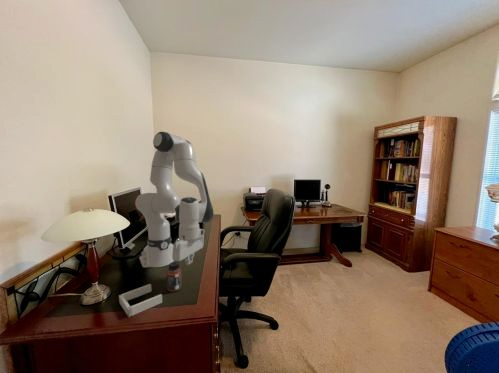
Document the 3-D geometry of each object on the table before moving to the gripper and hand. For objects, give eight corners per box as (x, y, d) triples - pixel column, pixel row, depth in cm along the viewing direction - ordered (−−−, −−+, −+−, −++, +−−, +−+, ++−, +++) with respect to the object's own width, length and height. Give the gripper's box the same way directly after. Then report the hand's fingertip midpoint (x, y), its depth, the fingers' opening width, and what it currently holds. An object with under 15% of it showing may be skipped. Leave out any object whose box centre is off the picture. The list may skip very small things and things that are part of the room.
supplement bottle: (181, 291, 94) (180, 265, 93) (166, 293, 92) (165, 267, 91) (181, 284, 100) (181, 260, 99) (167, 286, 98) (166, 261, 97)
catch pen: (119, 302, 86) (118, 295, 86) (150, 290, 94) (150, 283, 94) (128, 317, 78) (128, 309, 77) (162, 302, 86) (161, 295, 86)
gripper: (181, 240, 88) (181, 274, 89) (206, 229, 108) (206, 257, 108) (168, 239, 90) (168, 272, 91) (194, 228, 110) (194, 255, 110)
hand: (189, 263), depth 100 cm, fingers closed
